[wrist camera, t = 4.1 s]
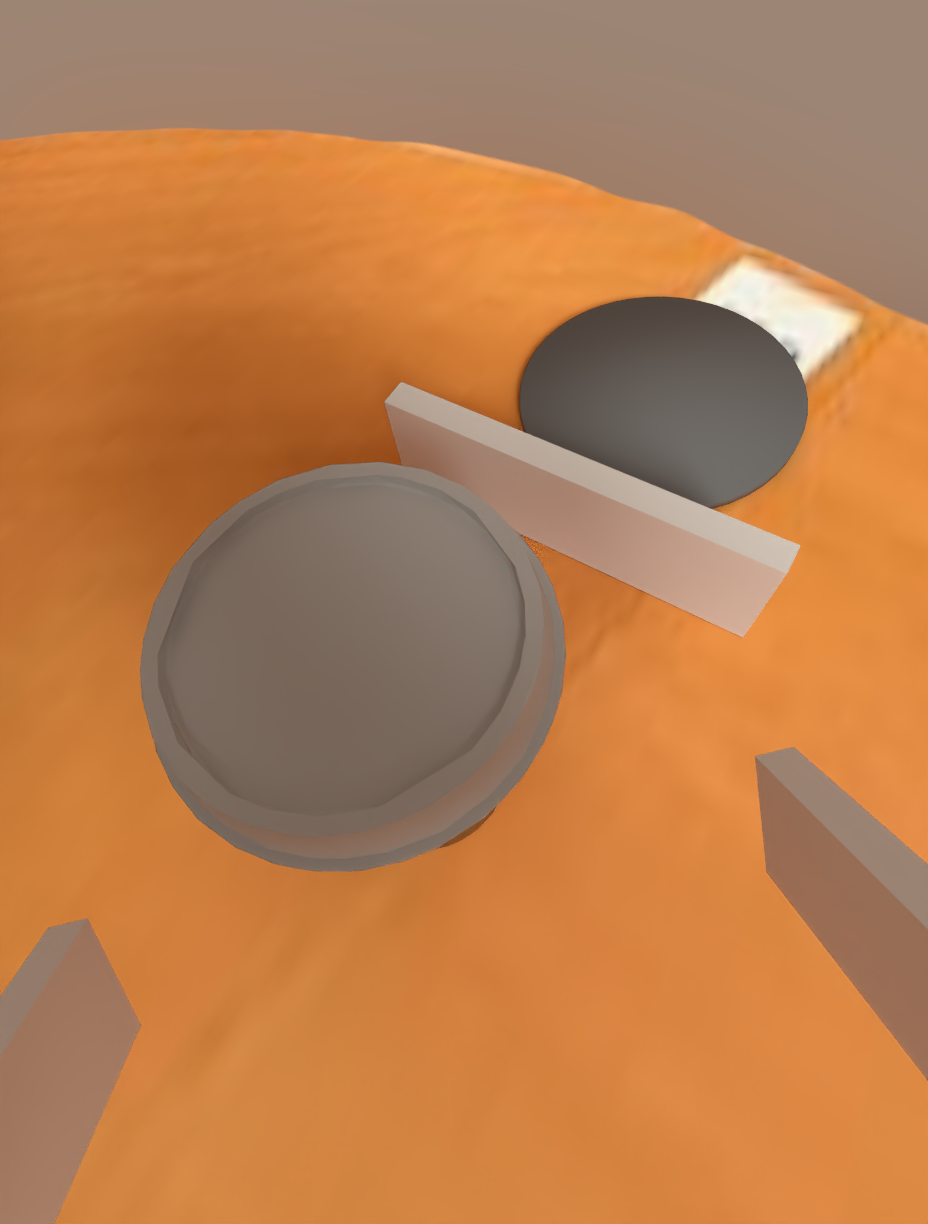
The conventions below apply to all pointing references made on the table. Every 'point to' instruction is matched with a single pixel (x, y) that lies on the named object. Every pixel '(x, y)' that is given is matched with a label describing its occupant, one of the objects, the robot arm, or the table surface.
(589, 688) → the table surface
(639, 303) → the rubber pad
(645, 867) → the table surface
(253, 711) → the disposable coffee cup
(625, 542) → the low wall
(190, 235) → the table surface
